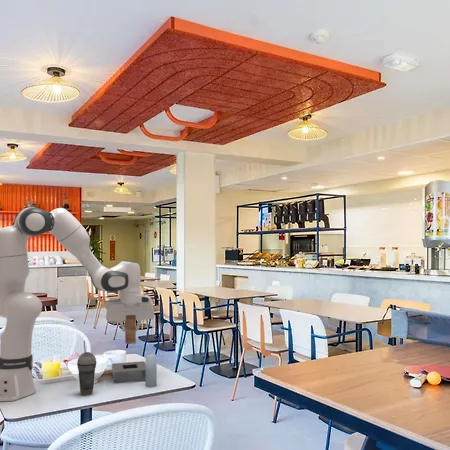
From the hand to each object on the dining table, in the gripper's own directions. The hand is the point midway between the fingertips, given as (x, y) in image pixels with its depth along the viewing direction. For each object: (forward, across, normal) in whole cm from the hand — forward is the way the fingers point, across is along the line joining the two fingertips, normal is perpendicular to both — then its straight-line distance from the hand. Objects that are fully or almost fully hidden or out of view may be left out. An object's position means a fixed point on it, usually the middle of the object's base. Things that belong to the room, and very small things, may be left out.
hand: (130, 330), depth 206 cm
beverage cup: (+20, -18, -17) cm, 32 cm away
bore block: (+20, 0, 0) cm, 20 cm away
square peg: (+5, 0, 0) cm, 5 cm away
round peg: (+20, +7, -14) cm, 25 cm away
